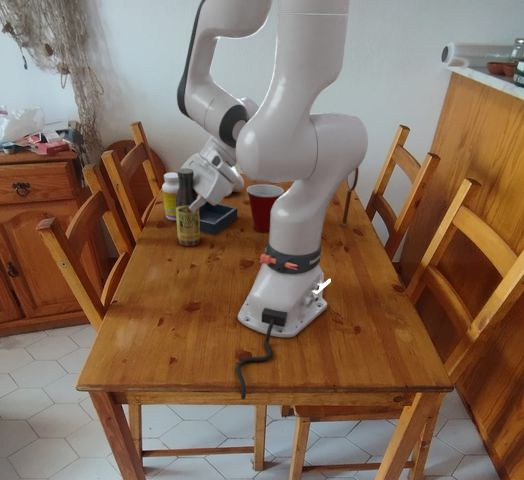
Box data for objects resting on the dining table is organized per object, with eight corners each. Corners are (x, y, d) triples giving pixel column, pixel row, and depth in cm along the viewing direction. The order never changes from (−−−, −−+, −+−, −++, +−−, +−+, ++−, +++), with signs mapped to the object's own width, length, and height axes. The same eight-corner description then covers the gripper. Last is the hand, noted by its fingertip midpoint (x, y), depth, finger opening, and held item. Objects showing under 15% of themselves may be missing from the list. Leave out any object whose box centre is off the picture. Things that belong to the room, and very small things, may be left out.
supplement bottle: (183, 222, 127) (179, 180, 119) (162, 220, 128) (157, 178, 119) (189, 213, 132) (186, 172, 124) (169, 211, 133) (164, 170, 124)
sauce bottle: (179, 248, 115) (171, 175, 102) (177, 238, 120) (168, 167, 106) (203, 246, 117) (198, 173, 103) (199, 236, 121) (194, 165, 108)
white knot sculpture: (222, 202, 139) (221, 175, 133) (201, 192, 146) (199, 165, 140) (247, 194, 145) (248, 168, 139) (226, 184, 152) (225, 159, 146)
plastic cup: (282, 221, 130) (285, 182, 122) (280, 237, 122) (282, 197, 114) (248, 219, 131) (248, 180, 123) (243, 234, 123) (243, 194, 115)
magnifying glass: (349, 232, 126) (362, 163, 113) (343, 232, 126) (355, 163, 113) (343, 219, 133) (354, 153, 119) (338, 219, 132) (349, 153, 119)
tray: (214, 235, 122) (214, 224, 119) (182, 226, 125) (181, 215, 123) (237, 218, 131) (237, 207, 129) (206, 210, 135) (205, 200, 132)
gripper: (191, 141, 112) (161, 183, 115) (225, 165, 99) (190, 212, 102) (208, 157, 117) (178, 197, 119) (241, 181, 104) (208, 225, 106)
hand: (184, 204), depth 110 cm, fingers open, 7 cm apart
